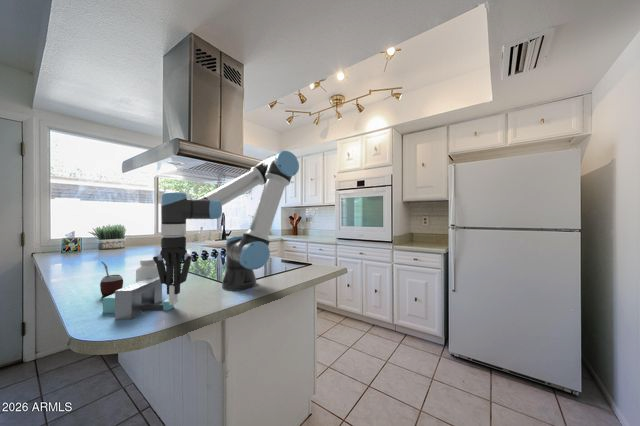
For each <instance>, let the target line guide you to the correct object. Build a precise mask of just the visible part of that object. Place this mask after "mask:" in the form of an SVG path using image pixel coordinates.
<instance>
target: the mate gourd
mask: <svg viewBox="0 0 640 426" xmlns="http://www.w3.org/2000/svg"><path fill="white" fill-rule="evenodd" d="M101 264H102V265H103V266H104V269H105V273H106V276H103V277H102V279H101V280H100V283H99V286H100V287H99V288H100V289H99V290H100V293H101V299H103V298H104V297H107V296H109V295H112V294H114V293H115V291H116V290H119V289H121V288H124V278H123V276H122V275H120V274H110V275H109V270H108V266H107V264H106V263H105V262H103V261H101Z"/></svg>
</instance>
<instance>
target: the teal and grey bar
mask: <svg viewBox="0 0 640 426" xmlns="http://www.w3.org/2000/svg"><path fill="white" fill-rule="evenodd" d="M174 307H175V304H174V305H169V298H167V299H165V300H164V301H162V303H161V302H160V303H158V304H141V311H155V310H156V311H170V310H172V309H174ZM102 314H115V293H114V294H112V295H109V296H107V297H104V298H102Z"/></svg>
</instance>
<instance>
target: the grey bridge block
mask: <svg viewBox="0 0 640 426" xmlns="http://www.w3.org/2000/svg"><path fill="white" fill-rule="evenodd" d="M161 302H163V284H161V282H160V278H147V279H144V280H141V281H139V282H136V281H135V283H131V284H129V285H126V286H123V287H122V288H121V289H119V290H116V291H115V313H114V320H133V319H134V318H135V317H137V316H139V315H141V314H142V310H141V304H160V303H161Z"/></svg>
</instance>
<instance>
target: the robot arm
mask: <svg viewBox="0 0 640 426" xmlns="http://www.w3.org/2000/svg"><path fill="white" fill-rule="evenodd" d="M299 170H300V163H299V160H298V157H297V156H296V155H295V154H294V153H293V152H292V151H289V150H281V151H278V152H277V153H274V154H272V155H269V156H267V157H266V158H264V159H263V160H262V161H260V162H258V163H257V164H256V165H253V166H252V167H251V168H250V171H247V172H246V173H243V174H242V175H240V176H238V177H236V178H234V179H233V180H230V181H229V182H226V183H225V184H224V185H221V186H219V187H218V188H216V189H214V190H212V191H211V192H208V193H206V194H204V195H203V196H201V197H199V198H198V199H197V198H196V199H194V198H189V197H187V193H185V192H178V191H175V192H174V191H165V192H164V193H162V194H161V204H160V210H161V211H160V212H161V213H160V216H161V218H160V220H161V224H160V225H161V227H160V236H162V237H161V238H160V247H161V251H160V253H159V254H158V255H156V256H153V257H152V258H153V260H154V261H155V263H156V264H155V265H157V269H158V273H159V278H160V282H161V284H162V285H163V284H164V285H166V294H167V295H168V299H169V305H174V306H175V304H176V303H178V301H179V300H178V297H179V295H178V294H180V293H181V284H183V283H185V282H187V279H188V278H187V277H188V275H189V274H188V273H189V271H190V266H191V263H192V261H193V259H194V258H195V256H194V255H193V254H192V255H191V254H189V253H188V250H187V249H186V247H187V236H185V235H187V220H218V219H220V218H221V217H222V213H223V206H224V205H226V204H228V203H230V202H232V201H233V200H235V199H237V198H238V197H240V196H241V195H244V194H245V193H247V192H249V191H250V190H252V189H254V188H255V187H257V186H259V185H260V186H263V185H264V184H265V185H264V187H263V188H262V189H263V190H262V192H261V196H260V197H259V200H258V203H257V206H256V209H255V212H254V214H253V217H252V219H251V223H250V225H249V229H248V230H246V231H245V232H243V233H242V235H237V236H229V237H227V238H226V243H225V248H226V249H225V252H226V255H225V260H226V262H225V264H226V265H225V272H224V276H223V278H222V281H221V288H222V289H224V290H228V291H241V290H247V289H251V288H254V287H256V285H257V278H256V274H255V272H254V271H255V270H258V269H261V268H262V267H265V265H266V264H267V263H268V262H269V259H270V255H271V251H270V249H269V245H270V243H271V239H270V238H269V234H270V231H271V228H272V226H273V222H274V219H275V217H276V214H277V211H278V207H279V205H280V202H281V198H282V196H283V194H284V190H285V187H287V186H289V185H290V184H291V180H292V177H294V176H295V175H297V173H298V172H299ZM183 259H184V262H183ZM182 264H183V265H182Z"/></svg>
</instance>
